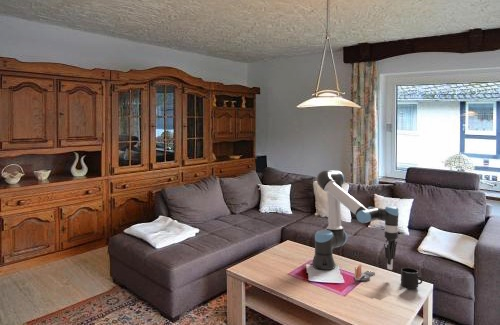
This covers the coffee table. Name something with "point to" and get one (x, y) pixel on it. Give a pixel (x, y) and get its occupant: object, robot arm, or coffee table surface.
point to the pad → (369, 273)
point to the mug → (410, 278)
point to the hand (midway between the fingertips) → (389, 269)
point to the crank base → (362, 278)
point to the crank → (359, 274)
